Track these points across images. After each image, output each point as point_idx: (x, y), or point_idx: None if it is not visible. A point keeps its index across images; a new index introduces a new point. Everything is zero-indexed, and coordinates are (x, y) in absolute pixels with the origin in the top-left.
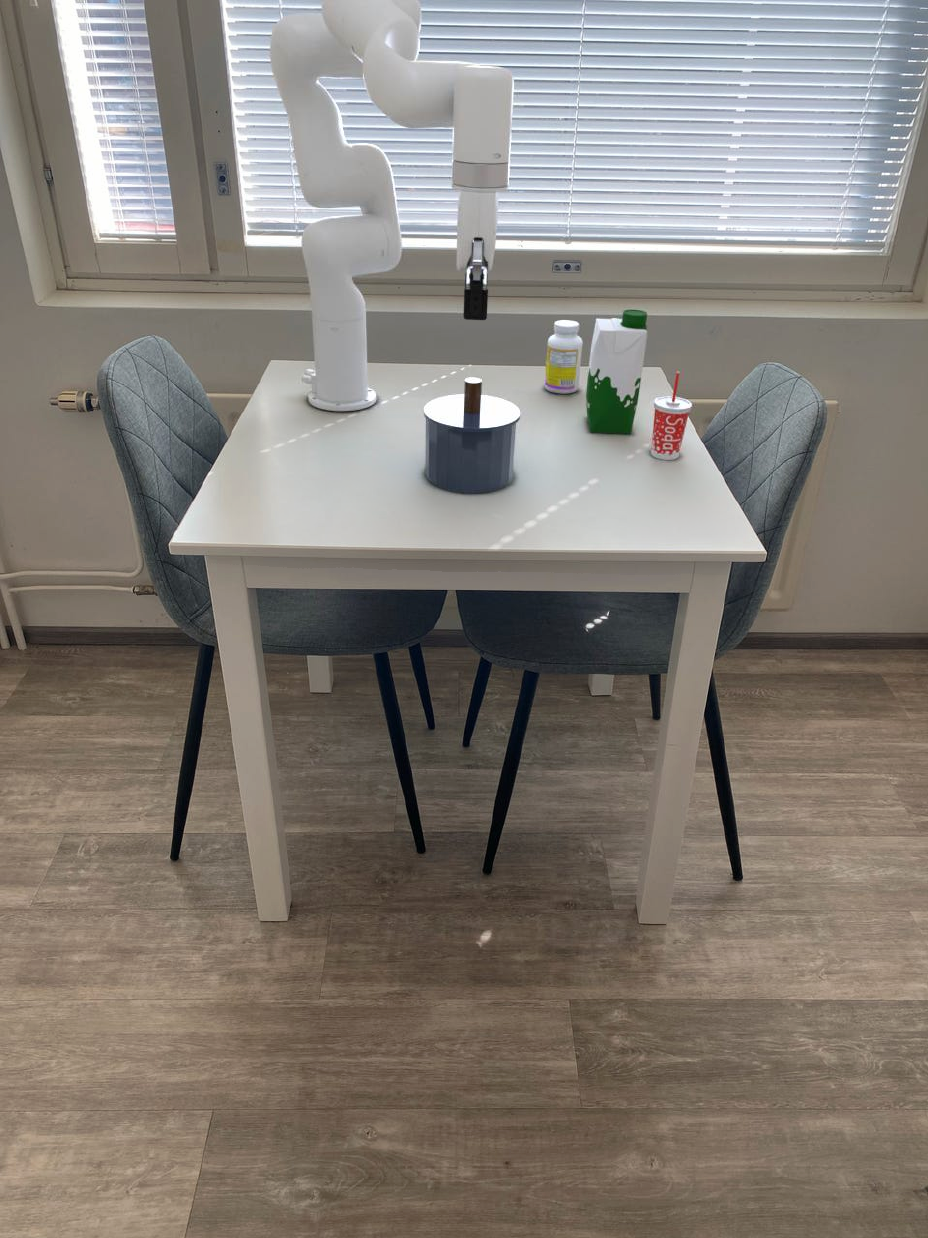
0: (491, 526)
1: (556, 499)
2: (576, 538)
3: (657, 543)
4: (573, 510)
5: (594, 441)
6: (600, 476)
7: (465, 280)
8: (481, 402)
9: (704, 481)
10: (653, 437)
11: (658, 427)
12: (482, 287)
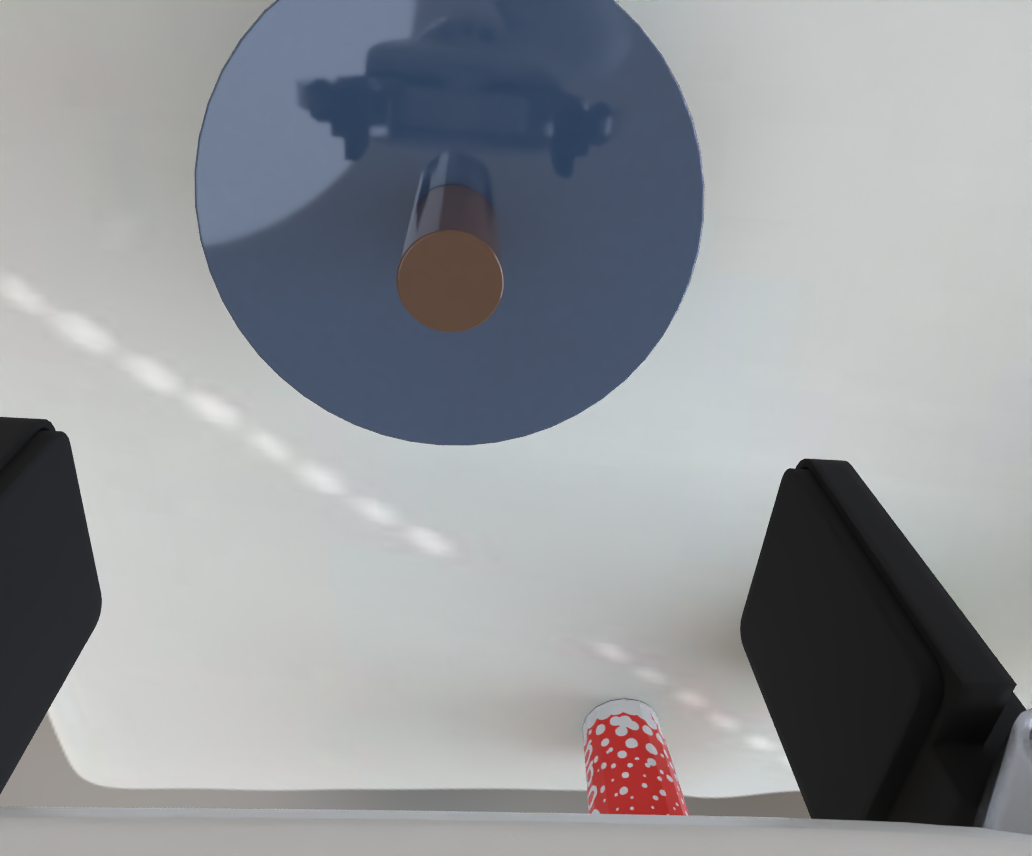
0: (30, 204)
1: (285, 428)
2: None
3: None
4: (212, 465)
5: (737, 583)
6: (468, 564)
7: (902, 605)
8: (572, 284)
9: (445, 771)
10: (627, 740)
11: (613, 777)
12: (790, 715)
